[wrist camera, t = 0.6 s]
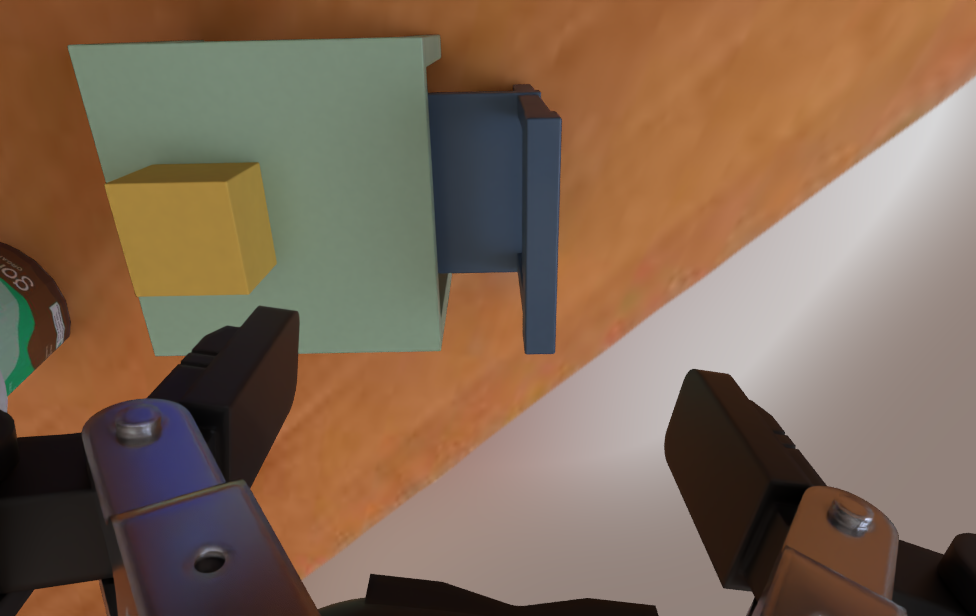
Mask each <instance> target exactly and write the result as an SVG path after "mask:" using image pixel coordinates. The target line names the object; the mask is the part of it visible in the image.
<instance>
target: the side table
mask: <svg viewBox="0 0 976 616" xmlns="http://www.w3.org/2000/svg"><path fill="white" fill-rule="evenodd" d="M68 50H69V54H70V57H71V61H72V65H73V68H74V72H75V75H76V79H77V82H78V86H79V89H80V93H81V96H82V100H83V103H84V107H85V110H86V114H87V117H88V121H89V124H90V128H91V131H92V135H93V138H94V142H95V146H96V149H97V153H98V156H99V160H100V163H101V167H102V170H103V174H104V177H105V181H106V183H108V182H110V181H113V180H115V179H118V178H120V177H123V176H125V175H128V174H130V173H133V172H135V171H138V170H140V169H143V168H145V167H148V166H150V165H152V164H200V163H248V162H258V163H259V164H260V170H261V176H262V181H263V187H264V193H265V198H266V204H267V210H268V215H269V221H270V227H271V232H272V238H273V244H274V249H275V255H276V261H277V264H276V265H275V266H274V267H273V269H272V270H271V271H270V272H269V273H268V274H267V275H266V276H265V277H264V279H263V280H262V281H261V282H260V283H259V284H258V285H257V286H256V287H255V289H254V290H253V291H252V292H251V293H250V294H249V295H204V296H151V297H139V300H140V304H141V308H142V311H143V315H144V318H145V322H146V325H147V329H148V332H149V336H150V339H151V343H152V346H153V350H154V353H155V356H186V355H187V354H188V353H191V352H192V349H193V348H194V347H195V346H196V345H197V344H198V343H199V341H200V340H201V339H202V338H203V337H204V336H205V335H208V334H210V333H212V332H214V331H216V330H218V329H220V328H222V327H225V326H227V325H228V326H235V327H241V326H242V324H243V323H244V322H245V321H246V320H247V318H248V317H249V316H250V315H251V314H252V312H253V311H254V310H255V309H256V308H257V307H258V306H259V305H260V306H267V307H274V308H281V309H288V310H295V311H298V313H299V317H300V329H299V349H298V354H303V353H359V352H415V351H441V346H442V339H443V333H444V326H445V319H446V312H447V305H448V299H449V292H450V285H451V278H452V273H438V262H437V245H436V228H435V211H434V194H433V177H432V160H431V143H430V126H429V109H428V92H427V75H426V67H427V66H429V65H431V64H432V63H434V62H435V61H437V60H439V59H440V58H441V42H440V35H416V36H404V37H382V38H338V39H294V40H249V41H205V42H204V40H183V41H156V42H129V43H103V44H76V45H68Z"/></svg>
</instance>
